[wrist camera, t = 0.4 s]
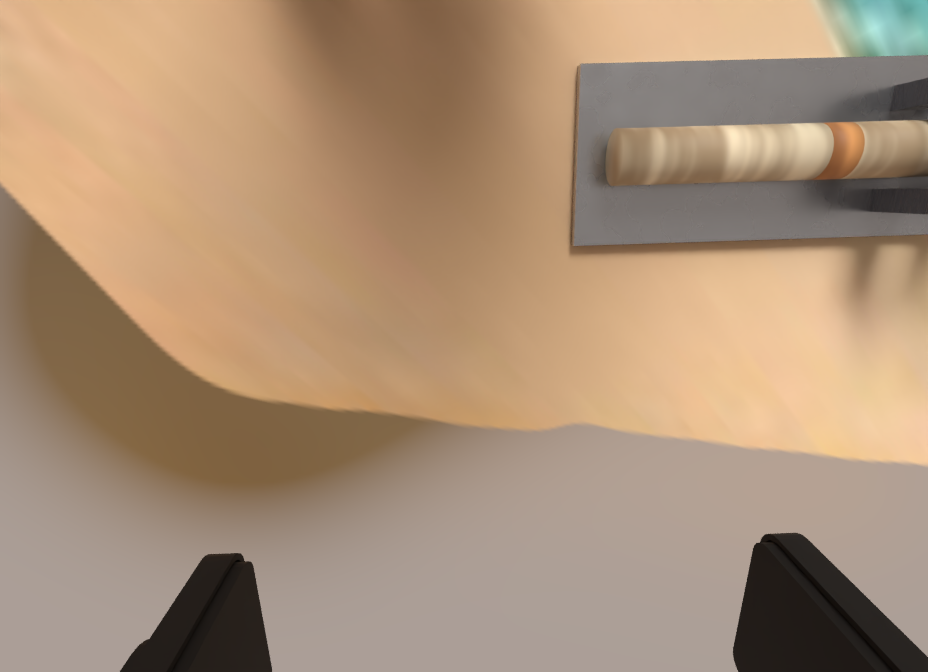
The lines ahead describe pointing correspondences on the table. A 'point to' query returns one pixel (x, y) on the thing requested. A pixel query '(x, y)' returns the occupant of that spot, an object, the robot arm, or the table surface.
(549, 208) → the table surface
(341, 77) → the table surface
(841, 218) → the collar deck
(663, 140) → the dowel
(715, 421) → the table surface
